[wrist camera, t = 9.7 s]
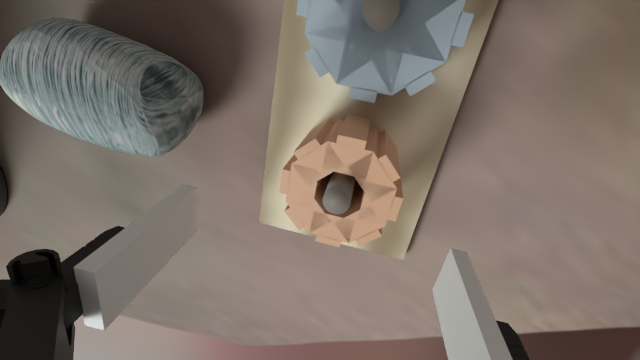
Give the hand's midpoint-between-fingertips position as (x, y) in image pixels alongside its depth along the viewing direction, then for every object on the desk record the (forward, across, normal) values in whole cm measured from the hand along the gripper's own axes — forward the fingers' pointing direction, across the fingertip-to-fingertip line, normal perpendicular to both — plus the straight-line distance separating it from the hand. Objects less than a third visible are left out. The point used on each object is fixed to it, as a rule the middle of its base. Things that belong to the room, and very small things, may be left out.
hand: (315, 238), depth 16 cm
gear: (+11, +1, +11) cm, 16 cm away
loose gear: (+11, +1, 0) cm, 11 cm away
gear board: (+12, +1, +4) cm, 13 cm away
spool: (+13, -18, +2) cm, 23 cm away
